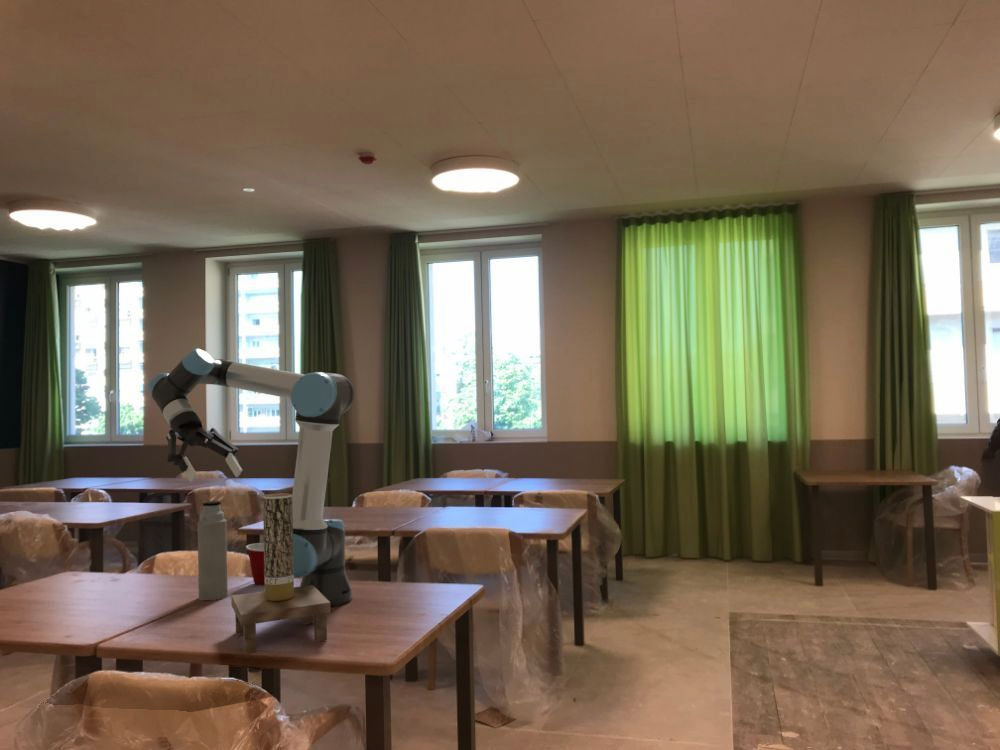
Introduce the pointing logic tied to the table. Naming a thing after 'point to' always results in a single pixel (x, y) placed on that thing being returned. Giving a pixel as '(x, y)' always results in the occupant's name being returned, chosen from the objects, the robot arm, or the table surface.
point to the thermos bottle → (212, 552)
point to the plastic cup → (257, 562)
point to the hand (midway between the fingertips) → (217, 476)
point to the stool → (279, 612)
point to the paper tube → (278, 546)
